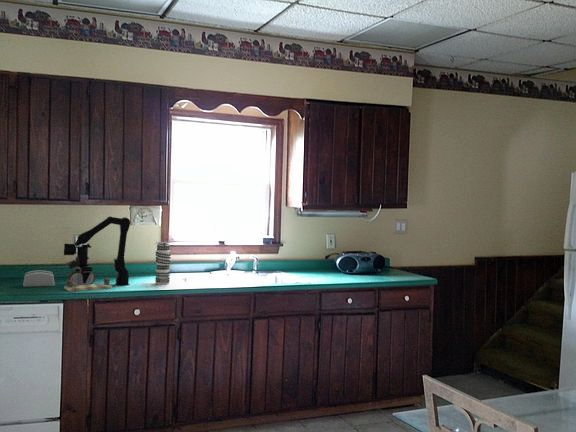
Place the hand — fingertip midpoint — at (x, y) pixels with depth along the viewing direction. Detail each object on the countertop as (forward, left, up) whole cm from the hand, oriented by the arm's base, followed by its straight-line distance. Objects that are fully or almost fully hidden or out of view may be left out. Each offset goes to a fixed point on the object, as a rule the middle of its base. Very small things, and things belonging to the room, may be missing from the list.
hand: (81, 282), depth 361 cm
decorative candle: (-45, +11, -2) cm, 46 cm away
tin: (0, 0, -2) cm, 2 cm away
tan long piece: (0, +12, -2) cm, 12 cm away
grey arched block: (+22, -8, -2) cm, 23 cm away
